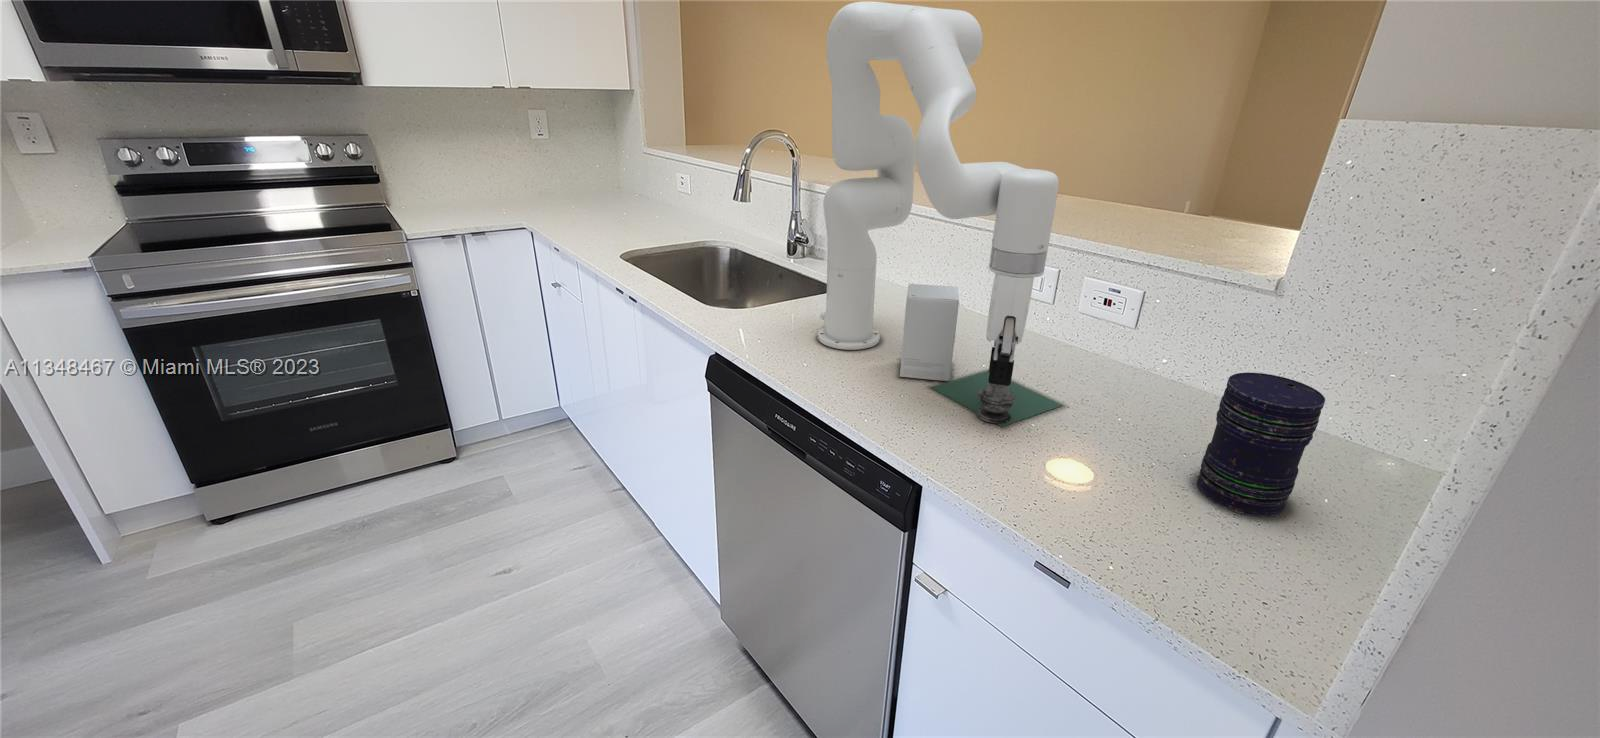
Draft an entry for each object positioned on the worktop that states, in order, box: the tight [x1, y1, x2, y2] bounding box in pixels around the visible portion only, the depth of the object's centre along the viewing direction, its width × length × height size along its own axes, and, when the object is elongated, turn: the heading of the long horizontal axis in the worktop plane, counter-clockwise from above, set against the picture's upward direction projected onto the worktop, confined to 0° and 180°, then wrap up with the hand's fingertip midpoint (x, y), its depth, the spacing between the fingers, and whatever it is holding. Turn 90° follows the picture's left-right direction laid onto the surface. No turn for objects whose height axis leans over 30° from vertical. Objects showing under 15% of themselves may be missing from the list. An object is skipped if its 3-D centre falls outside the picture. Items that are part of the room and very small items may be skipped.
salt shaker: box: [975, 353, 1016, 424], centre depth 99 cm, size 6×6×12 cm
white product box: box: [899, 283, 960, 382], centre depth 115 cm, size 9×9×15 cm
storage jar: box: [1196, 372, 1326, 518], centre depth 80 cm, size 10×10×15 cm
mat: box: [930, 370, 1063, 428], centre depth 108 cm, size 16×14×1 cm
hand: (999, 376), depth 99 cm, fingers closed on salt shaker, 3 cm apart
